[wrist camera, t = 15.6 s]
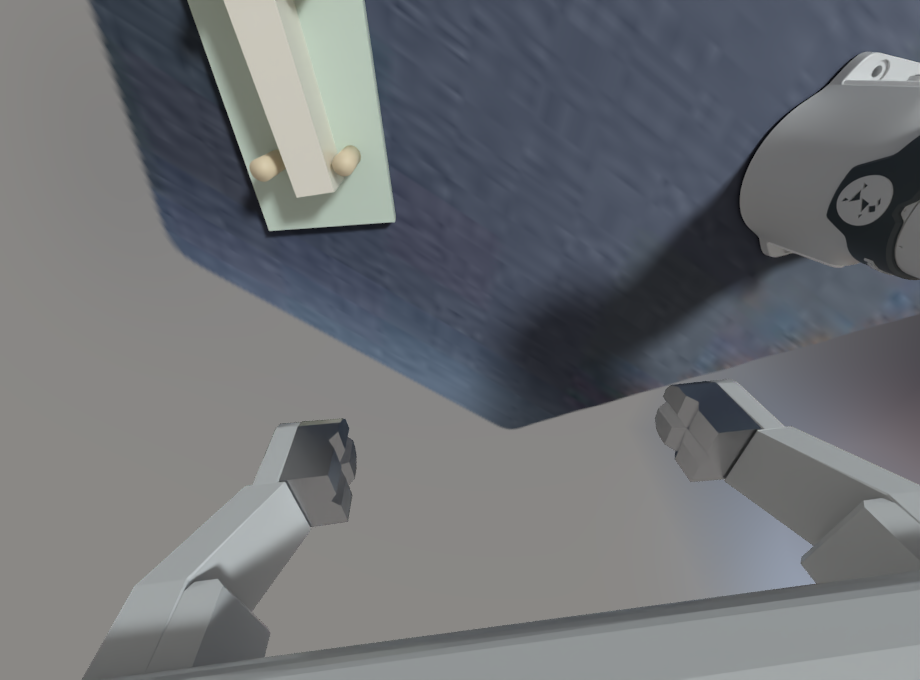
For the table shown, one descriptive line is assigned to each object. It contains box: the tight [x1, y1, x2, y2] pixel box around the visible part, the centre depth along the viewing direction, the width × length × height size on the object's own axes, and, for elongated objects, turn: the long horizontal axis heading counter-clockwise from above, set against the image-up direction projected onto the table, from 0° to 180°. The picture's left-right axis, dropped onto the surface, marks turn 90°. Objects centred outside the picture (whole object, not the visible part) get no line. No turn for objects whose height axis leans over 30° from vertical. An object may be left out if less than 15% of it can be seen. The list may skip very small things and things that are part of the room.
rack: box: [187, 0, 396, 231], centre depth 27 cm, size 24×12×6 cm, turn 2°
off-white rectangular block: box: [224, 0, 345, 198], centre depth 26 cm, size 16×3×5 cm, turn 7°
